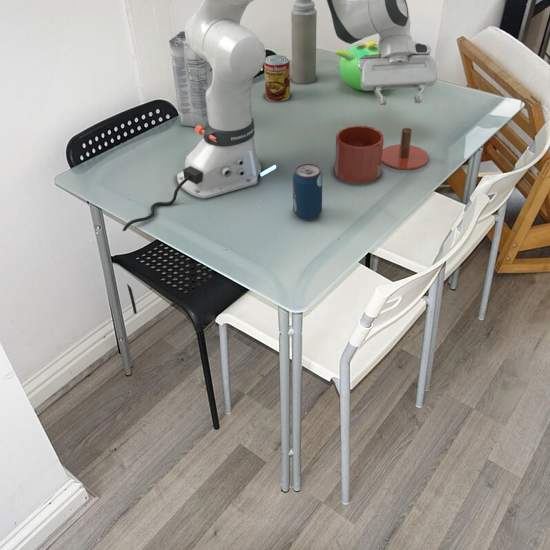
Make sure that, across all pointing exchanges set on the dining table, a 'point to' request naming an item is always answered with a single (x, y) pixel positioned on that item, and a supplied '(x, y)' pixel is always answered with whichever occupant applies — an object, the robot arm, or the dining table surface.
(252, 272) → the dining table surface
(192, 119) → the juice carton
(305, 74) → the thermos bottle
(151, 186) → the dining table surface
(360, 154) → the pot
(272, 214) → the dining table surface
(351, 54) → the toy bird
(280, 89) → the canned food
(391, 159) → the lid
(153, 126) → the dining table surface
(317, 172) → the soda can
